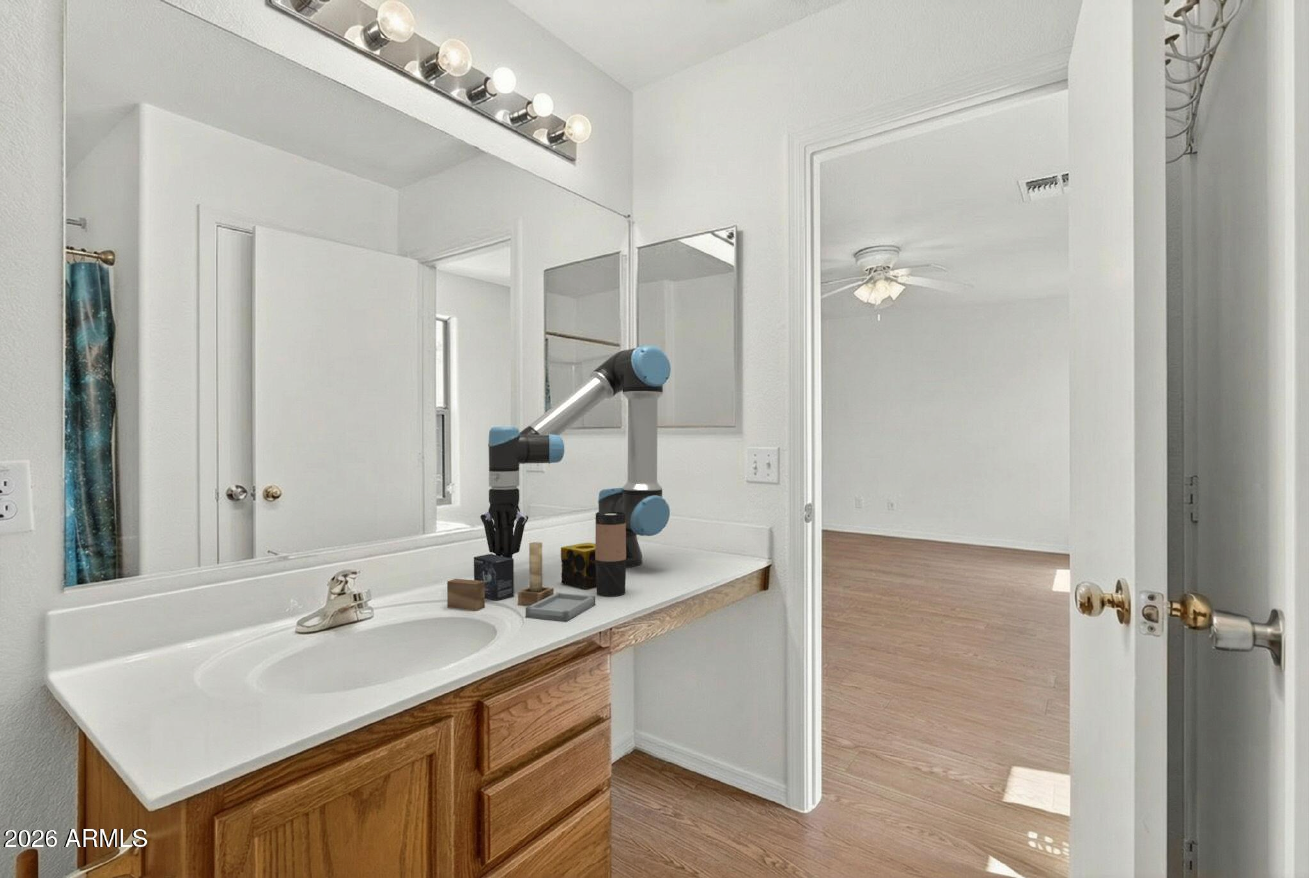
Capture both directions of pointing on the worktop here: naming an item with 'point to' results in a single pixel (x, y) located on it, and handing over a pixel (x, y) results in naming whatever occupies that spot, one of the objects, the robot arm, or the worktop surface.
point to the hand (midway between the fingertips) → (504, 580)
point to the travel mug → (610, 553)
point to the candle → (579, 565)
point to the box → (495, 575)
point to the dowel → (535, 567)
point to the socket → (533, 596)
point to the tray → (560, 606)
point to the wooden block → (466, 594)
